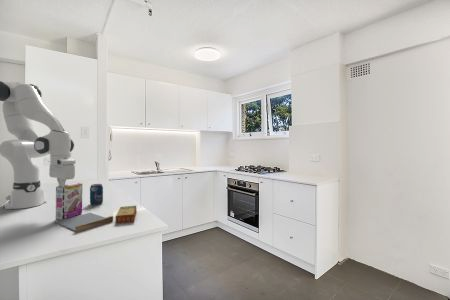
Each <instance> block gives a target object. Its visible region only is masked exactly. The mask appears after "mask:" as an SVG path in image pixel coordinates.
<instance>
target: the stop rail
mask: <svg viewBox="0 0 450 300" xmlns="http://www.w3.org/2000/svg"><path fill="white" fill-rule="evenodd" d="M113 221H114V216H113V215H110V216H107V217H106V216H105V218H102V219H99V220H96V221H92V222H89V223H85V224H82V225H78V226H75V231H74V232H75V233H80V232H83V231H86V230H89V229H92V228H96V227H100V226H102V224H103V225H105V223H106V224H108V223H112V222H113Z"/></svg>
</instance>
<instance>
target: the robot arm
mask: <svg viewBox="0 0 450 300" xmlns="http://www.w3.org/2000/svg"><path fill="white" fill-rule="evenodd" d="M42 96H43V95H42V90H41V88H40V87H39V86H38V85H35V84H31V83H24V82H17V81H16V82H15V81H1V80H0V102H2V113H3V118H4V121H5V122H4V123H5V125H6V128H7V132H8V133H10V134H11V135H13V136H15V138H17V139H10V140H9V139H8V140H5V141H2V142H1V144H0V155H1V156H2V157H3V158H4V159H6V160H7V161H8V162H9V163H10V164H11V166H12V169H13V183H12V190H11V192H10V193H9V194H8V195H6V196H5V200H6V202H4V203H3V206H4V208H5V210H12V209H13V210H14V209H15V210H17V209H26V208H32V207H33V208H34V207H38V206H40V205H41V206H42V205H43V204H46V203H47V202H48V200H47V199H45V196H44V195H45V194H44V189H43V188H41V180H40V169H39V167H38V165H35V164H33V161H32V159H36V158H41V157H42V158H43V157H45V156H47V155H49V156H50V157H49V158H50V159H49V161H50V164H49V170H48V171H49V173H48V174H49V177H50V178H56V181H57V183H58V184H57V185H58V186H62V185H66V182H67V180H73V179H74V178H75V175H76V169H75V168H76V166H75V165H76V159H74V158H73V157H72V151H73V150H74V149H75V143H74V141H73V139H72V138H71V136H70V133H69V132H68V131H67V130H65V128H64V127H63V125H62V124H61V122H60V120H58V118H57V116H55V114H54V113H52V112H51V111H50V110H49V108H47V107H46V105H45V103H44V102H43V99H42ZM32 121H35V122H38V123H40V124H43V125H44V126H47V128H49V130H50V132H49V133H47V134H46V135H43V136H39V134H38V133H37V131H36V129H35V128H34V125H33V123H32Z"/></svg>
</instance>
